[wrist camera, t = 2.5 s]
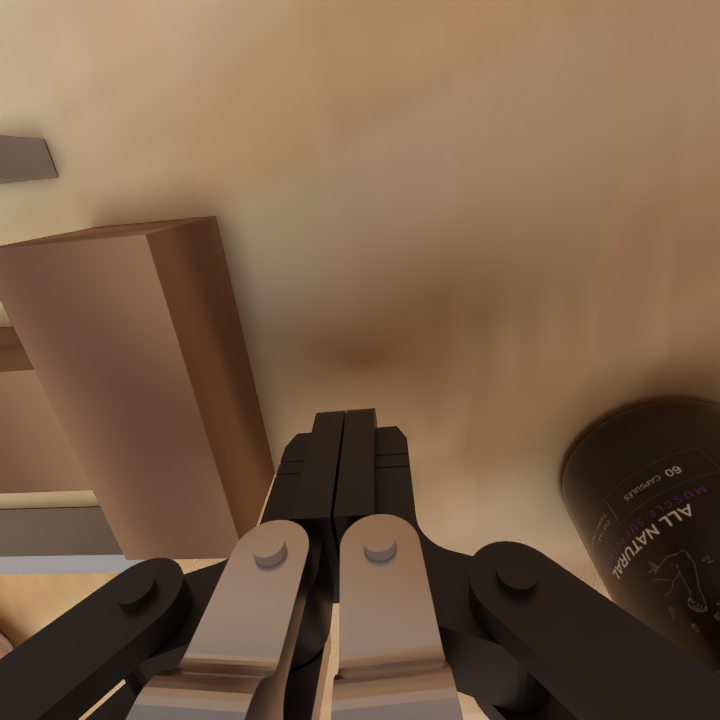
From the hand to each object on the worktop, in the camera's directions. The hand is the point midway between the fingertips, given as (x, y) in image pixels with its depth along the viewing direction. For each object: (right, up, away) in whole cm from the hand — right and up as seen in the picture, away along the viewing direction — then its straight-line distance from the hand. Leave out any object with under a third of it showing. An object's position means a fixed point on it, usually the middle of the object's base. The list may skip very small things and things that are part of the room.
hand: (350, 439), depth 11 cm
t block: (-9, +2, +4) cm, 10 cm away
